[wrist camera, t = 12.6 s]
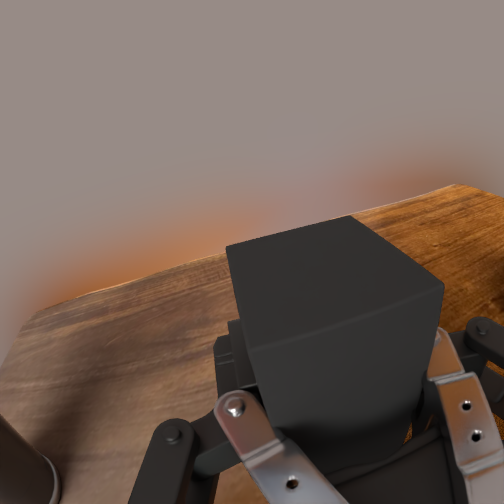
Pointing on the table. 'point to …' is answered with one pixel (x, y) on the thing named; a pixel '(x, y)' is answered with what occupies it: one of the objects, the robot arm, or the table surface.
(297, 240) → the black rectangular block
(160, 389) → the table surface
